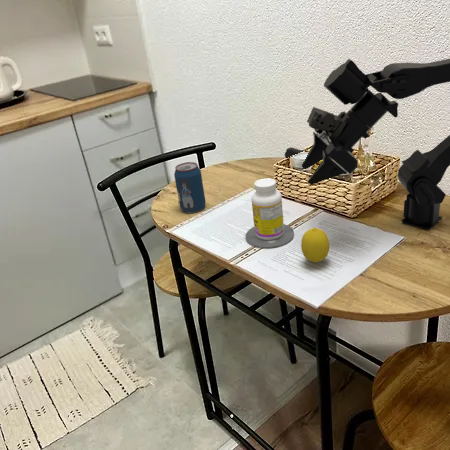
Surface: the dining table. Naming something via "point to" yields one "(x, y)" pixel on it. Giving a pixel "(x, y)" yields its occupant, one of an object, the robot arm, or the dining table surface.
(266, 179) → the supplement bottle
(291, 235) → the coaster
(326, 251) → the lemon
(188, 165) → the soda can
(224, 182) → the dining table surface
